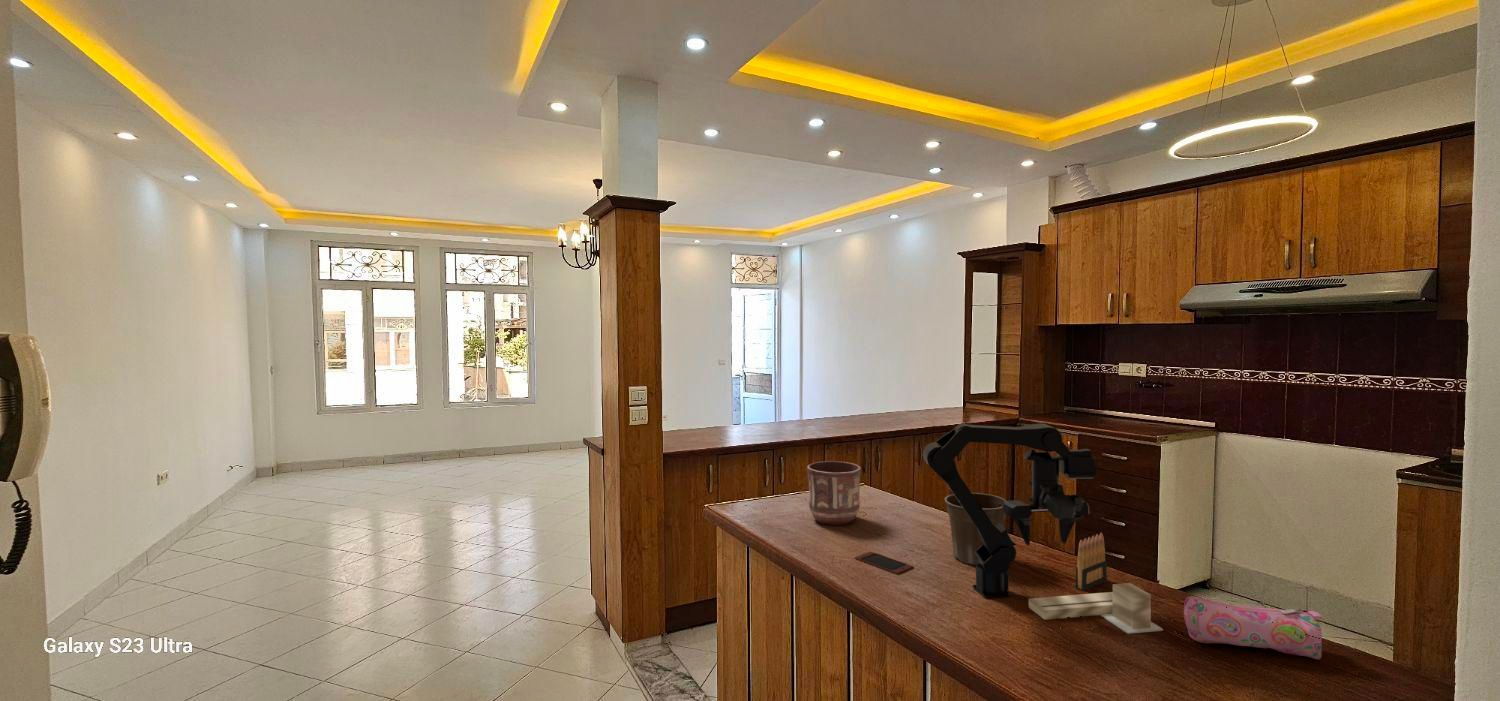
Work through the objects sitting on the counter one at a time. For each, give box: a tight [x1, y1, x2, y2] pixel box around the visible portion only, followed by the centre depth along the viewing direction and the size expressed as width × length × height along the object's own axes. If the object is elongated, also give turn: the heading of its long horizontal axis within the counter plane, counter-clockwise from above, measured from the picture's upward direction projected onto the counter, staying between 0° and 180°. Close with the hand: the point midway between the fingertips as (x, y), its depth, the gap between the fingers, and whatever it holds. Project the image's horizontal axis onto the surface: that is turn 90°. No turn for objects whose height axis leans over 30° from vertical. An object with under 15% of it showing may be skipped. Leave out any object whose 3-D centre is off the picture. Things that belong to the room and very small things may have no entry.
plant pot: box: [944, 492, 1007, 567], centre depth 171 cm, size 16×16×16 cm
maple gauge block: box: [1112, 582, 1152, 629], centre depth 133 cm, size 4×6×7 cm, turn 7°
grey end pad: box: [1100, 614, 1164, 635], centre depth 133 cm, size 8×8×1 cm
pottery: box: [806, 460, 862, 526], centre depth 207 cm, size 18×18×18 cm
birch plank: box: [1028, 591, 1113, 620], centre depth 140 cm, size 22×6×2 cm, turn 98°
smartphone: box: [854, 551, 915, 576], centre depth 169 cm, size 7×1×15 cm
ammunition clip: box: [1075, 532, 1108, 592], centre depth 153 cm, size 11×2×12 cm, turn 122°
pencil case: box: [1183, 595, 1324, 661], centre depth 122 cm, size 21×9×9 cm, turn 70°
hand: (1045, 543), depth 148 cm, fingers open, 9 cm apart
